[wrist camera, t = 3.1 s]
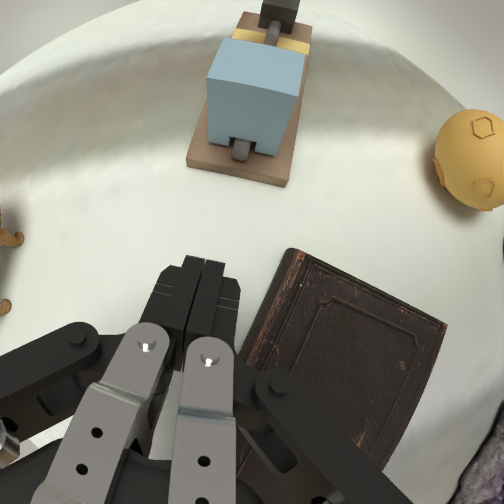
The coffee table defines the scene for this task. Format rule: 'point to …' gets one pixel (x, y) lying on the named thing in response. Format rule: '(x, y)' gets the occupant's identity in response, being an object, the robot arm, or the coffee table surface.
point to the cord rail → (278, 167)
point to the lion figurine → (5, 238)
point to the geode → (485, 472)
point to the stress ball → (472, 158)
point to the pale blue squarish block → (252, 93)
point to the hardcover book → (340, 358)
